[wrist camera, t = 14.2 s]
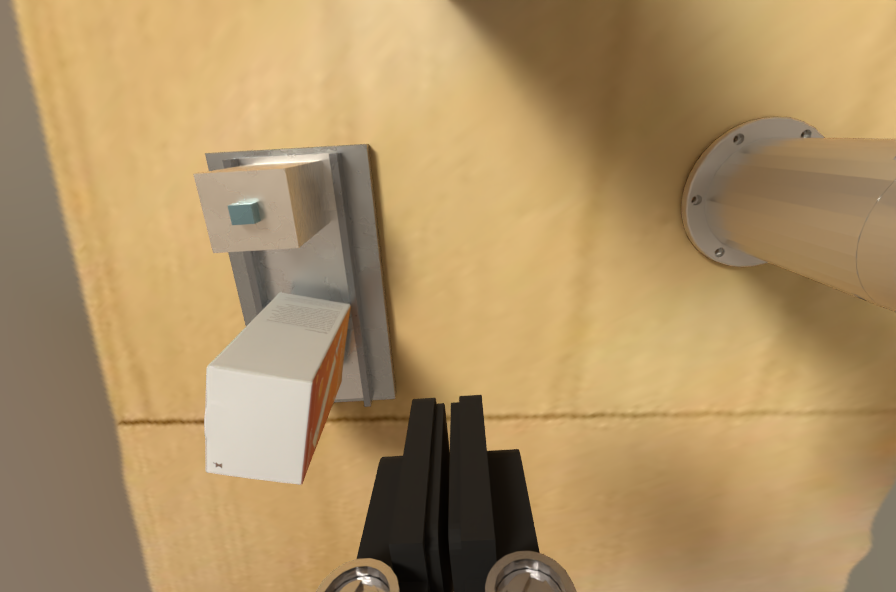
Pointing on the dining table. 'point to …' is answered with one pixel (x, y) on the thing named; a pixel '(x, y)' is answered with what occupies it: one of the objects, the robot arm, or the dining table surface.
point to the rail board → (306, 244)
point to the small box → (275, 389)
